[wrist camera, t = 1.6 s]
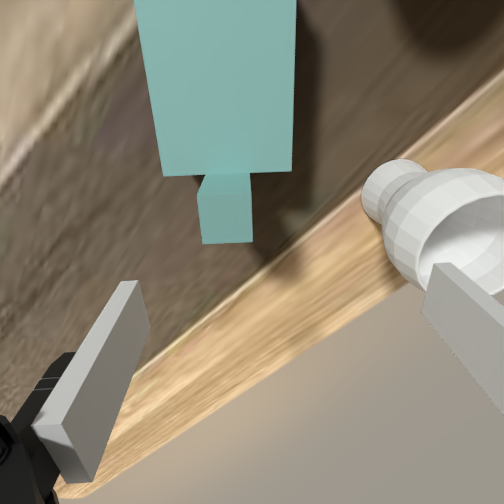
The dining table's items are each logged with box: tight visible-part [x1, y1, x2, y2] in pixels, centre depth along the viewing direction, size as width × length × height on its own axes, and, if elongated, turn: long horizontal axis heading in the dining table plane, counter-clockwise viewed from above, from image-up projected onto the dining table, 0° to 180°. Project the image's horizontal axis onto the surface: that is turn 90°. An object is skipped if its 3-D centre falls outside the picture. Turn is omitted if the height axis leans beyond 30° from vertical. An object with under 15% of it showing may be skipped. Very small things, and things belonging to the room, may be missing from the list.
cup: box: [361, 159, 504, 295], centre depth 30 cm, size 11×11×15 cm
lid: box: [134, 0, 296, 244], centre depth 23 cm, size 21×12×7 cm, turn 2°
